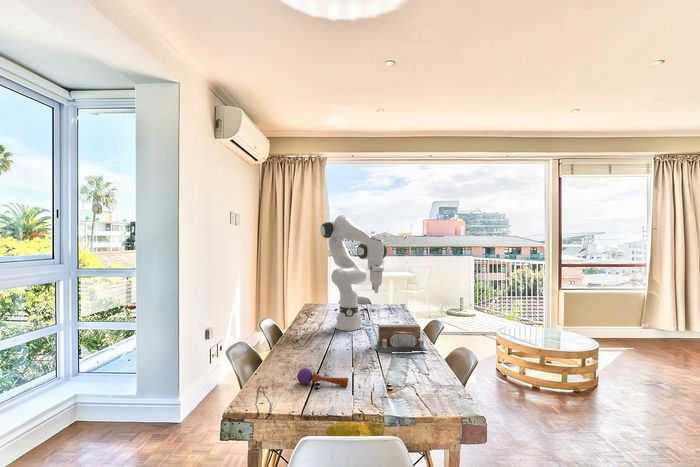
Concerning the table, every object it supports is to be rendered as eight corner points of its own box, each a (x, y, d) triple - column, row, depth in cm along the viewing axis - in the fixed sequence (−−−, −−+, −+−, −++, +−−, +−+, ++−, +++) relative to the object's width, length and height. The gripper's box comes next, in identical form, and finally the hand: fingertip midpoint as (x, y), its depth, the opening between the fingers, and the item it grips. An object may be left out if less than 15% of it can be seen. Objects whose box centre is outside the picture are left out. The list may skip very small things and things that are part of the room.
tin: (417, 347, 180) (417, 331, 180) (418, 349, 176) (418, 332, 177) (388, 347, 180) (388, 330, 180) (388, 348, 177) (388, 332, 177)
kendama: (347, 379, 131) (295, 372, 133) (346, 394, 132) (295, 386, 135) (349, 371, 137) (300, 364, 139) (348, 384, 138) (299, 377, 140)
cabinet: (377, 344, 190) (377, 324, 190) (418, 343, 191) (418, 324, 191) (382, 353, 174) (382, 332, 174) (427, 353, 175) (427, 332, 175)
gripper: (367, 264, 203) (367, 288, 203) (372, 268, 182) (371, 294, 182) (378, 265, 203) (377, 288, 203) (384, 268, 183) (383, 294, 183)
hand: (374, 291), depth 193 cm, fingers open, 8 cm apart
